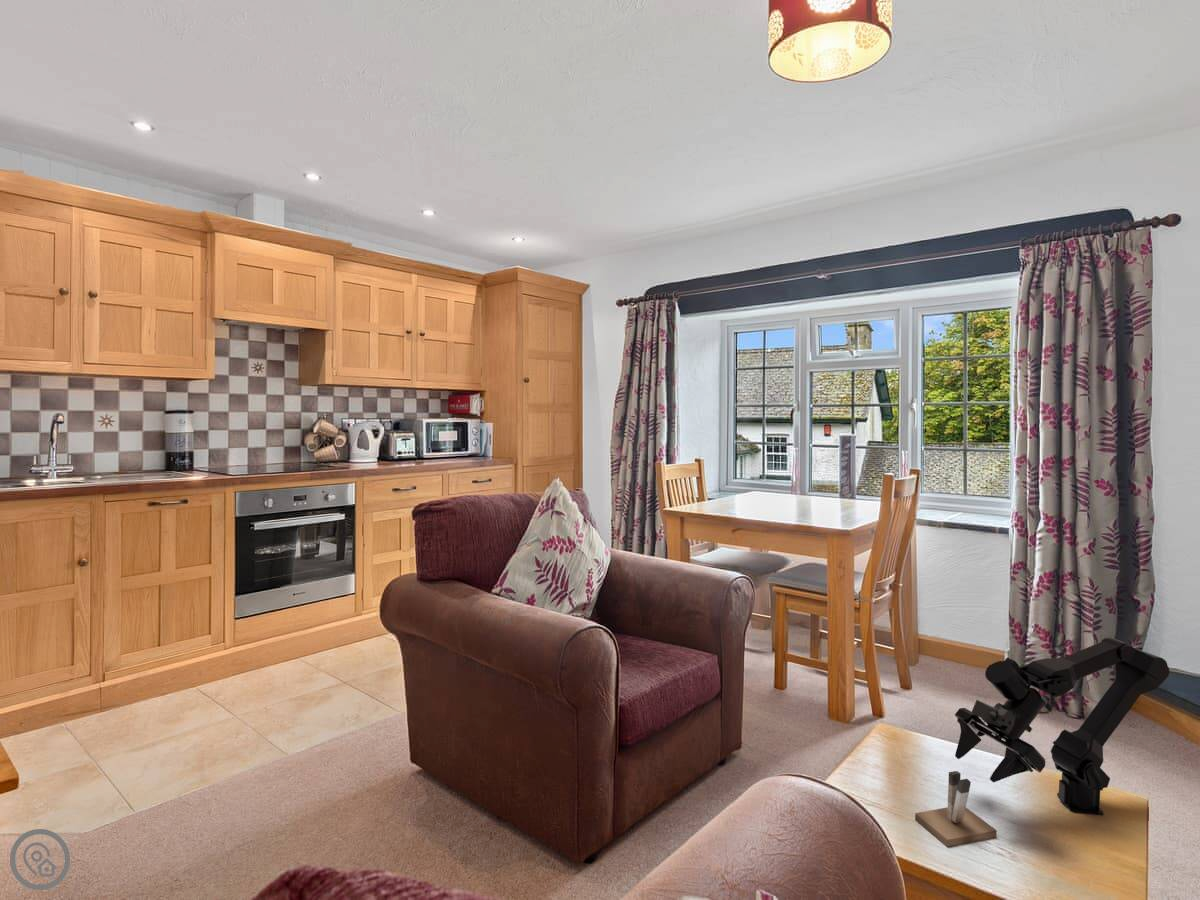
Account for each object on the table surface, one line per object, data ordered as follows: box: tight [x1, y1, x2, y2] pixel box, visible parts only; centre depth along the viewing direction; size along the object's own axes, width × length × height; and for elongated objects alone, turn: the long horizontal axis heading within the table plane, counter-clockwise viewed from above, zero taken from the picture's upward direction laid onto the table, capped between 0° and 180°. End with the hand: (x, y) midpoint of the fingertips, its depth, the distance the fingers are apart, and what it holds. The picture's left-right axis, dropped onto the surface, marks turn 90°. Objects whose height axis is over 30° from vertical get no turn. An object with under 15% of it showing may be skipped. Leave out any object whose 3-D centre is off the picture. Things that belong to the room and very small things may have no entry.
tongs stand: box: [914, 770, 998, 848], centre depth 138 cm, size 12×9×12 cm
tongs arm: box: [952, 778, 972, 823], centre depth 136 cm, size 2×1×10 cm, turn 105°
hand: (973, 768), depth 140 cm, fingers open, 9 cm apart
